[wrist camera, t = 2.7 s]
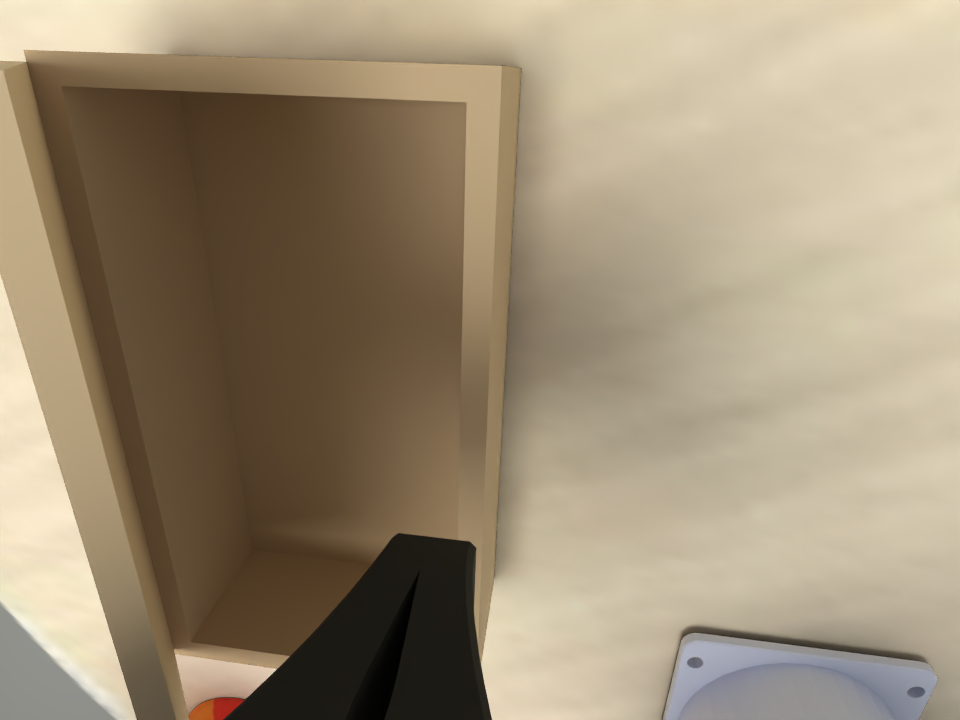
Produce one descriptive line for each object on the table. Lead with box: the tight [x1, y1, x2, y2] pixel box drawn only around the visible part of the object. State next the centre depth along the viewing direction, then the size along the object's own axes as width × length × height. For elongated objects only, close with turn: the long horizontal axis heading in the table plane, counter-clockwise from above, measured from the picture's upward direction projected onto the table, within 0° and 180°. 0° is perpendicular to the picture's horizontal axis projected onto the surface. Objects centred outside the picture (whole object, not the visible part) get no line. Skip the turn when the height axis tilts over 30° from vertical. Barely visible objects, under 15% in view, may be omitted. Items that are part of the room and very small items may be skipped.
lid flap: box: [0, 61, 189, 720], centre depth 11 cm, size 16×9×1 cm
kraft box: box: [24, 50, 521, 669], centre depth 17 cm, size 16×9×4 cm, turn 178°
